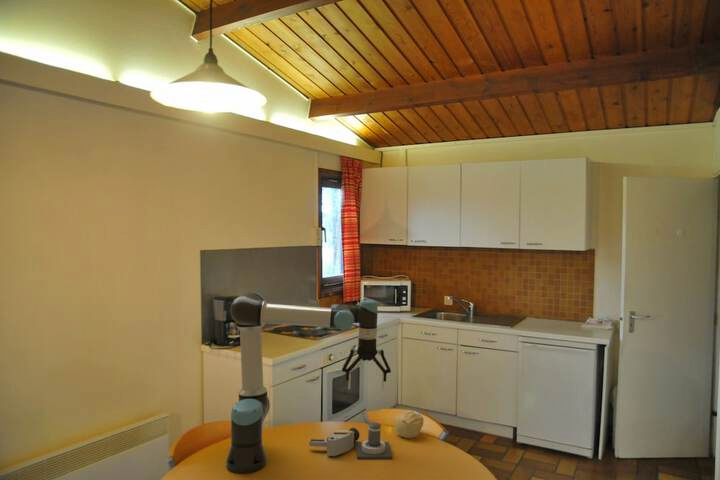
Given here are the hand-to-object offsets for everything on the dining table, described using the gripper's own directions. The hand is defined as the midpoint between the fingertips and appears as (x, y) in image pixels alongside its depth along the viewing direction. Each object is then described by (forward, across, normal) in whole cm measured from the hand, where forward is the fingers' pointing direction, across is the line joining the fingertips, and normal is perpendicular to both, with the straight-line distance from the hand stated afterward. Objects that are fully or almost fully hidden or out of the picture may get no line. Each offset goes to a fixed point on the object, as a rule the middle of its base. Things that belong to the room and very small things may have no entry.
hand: (365, 388), depth 206 cm
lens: (+24, +4, -2) cm, 25 cm away
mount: (+25, +4, -2) cm, 26 cm away
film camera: (+26, -12, +3) cm, 29 cm away
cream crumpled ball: (+25, +21, +14) cm, 35 cm away
